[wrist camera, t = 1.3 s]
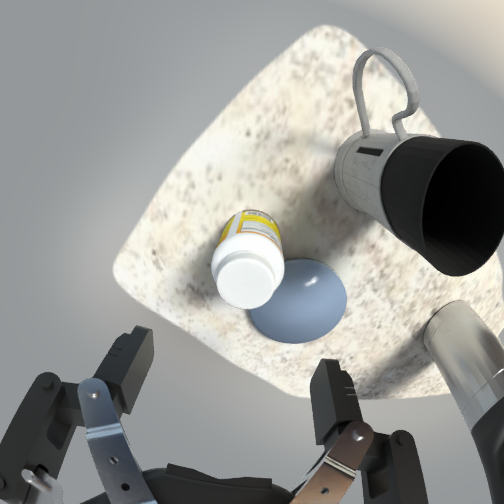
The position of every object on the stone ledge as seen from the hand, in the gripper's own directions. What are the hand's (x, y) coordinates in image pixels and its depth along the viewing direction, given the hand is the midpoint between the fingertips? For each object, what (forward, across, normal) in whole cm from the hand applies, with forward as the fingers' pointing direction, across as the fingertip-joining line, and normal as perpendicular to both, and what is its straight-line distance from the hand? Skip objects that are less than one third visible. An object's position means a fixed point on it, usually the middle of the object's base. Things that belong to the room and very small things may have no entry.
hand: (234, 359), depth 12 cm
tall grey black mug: (+17, -9, -11) cm, 22 cm away
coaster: (+17, -7, +7) cm, 20 cm away
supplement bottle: (+17, 0, 0) cm, 17 cm away
